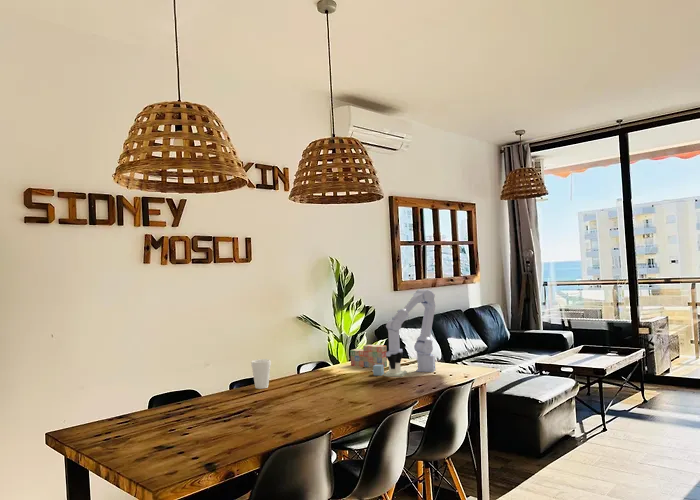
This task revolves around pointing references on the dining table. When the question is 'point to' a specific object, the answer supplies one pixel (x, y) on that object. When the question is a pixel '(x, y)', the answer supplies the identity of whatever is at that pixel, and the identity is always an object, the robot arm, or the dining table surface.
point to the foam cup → (261, 372)
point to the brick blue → (378, 370)
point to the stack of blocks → (369, 356)
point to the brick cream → (395, 368)
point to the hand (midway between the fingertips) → (395, 368)
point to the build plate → (396, 374)
